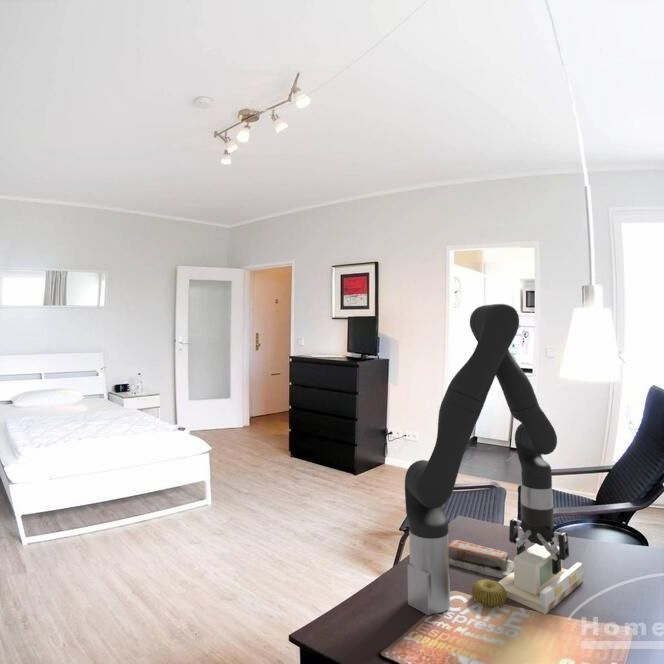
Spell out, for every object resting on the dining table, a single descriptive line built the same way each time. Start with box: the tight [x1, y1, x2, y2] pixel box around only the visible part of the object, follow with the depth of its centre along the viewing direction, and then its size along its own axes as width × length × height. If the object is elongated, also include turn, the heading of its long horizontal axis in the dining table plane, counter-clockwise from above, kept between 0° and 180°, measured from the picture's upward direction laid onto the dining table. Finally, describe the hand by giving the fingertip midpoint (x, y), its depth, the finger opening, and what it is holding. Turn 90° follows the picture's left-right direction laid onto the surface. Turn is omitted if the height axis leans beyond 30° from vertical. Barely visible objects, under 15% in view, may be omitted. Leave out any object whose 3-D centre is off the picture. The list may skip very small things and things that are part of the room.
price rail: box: [540, 561, 584, 608], centre depth 113 cm, size 21×1×3 cm, turn 131°
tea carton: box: [513, 543, 563, 595], centre depth 118 cm, size 6×14×7 cm, turn 130°
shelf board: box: [497, 567, 584, 615], centre depth 118 cm, size 21×13×2 cm, turn 131°
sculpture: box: [471, 578, 508, 609], centre depth 112 cm, size 8×4×8 cm
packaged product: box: [449, 539, 514, 580], centre depth 130 cm, size 18×5×10 cm
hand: (538, 567), depth 118 cm, fingers open, 8 cm apart
